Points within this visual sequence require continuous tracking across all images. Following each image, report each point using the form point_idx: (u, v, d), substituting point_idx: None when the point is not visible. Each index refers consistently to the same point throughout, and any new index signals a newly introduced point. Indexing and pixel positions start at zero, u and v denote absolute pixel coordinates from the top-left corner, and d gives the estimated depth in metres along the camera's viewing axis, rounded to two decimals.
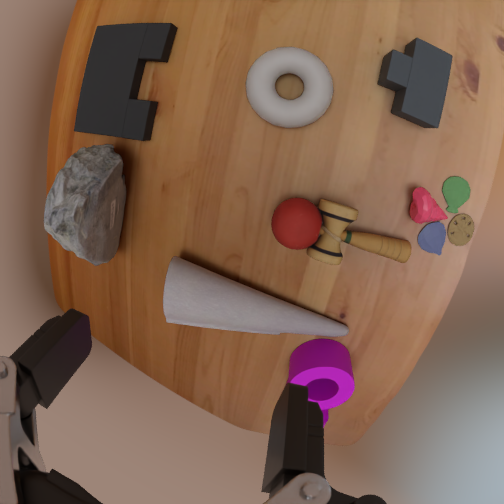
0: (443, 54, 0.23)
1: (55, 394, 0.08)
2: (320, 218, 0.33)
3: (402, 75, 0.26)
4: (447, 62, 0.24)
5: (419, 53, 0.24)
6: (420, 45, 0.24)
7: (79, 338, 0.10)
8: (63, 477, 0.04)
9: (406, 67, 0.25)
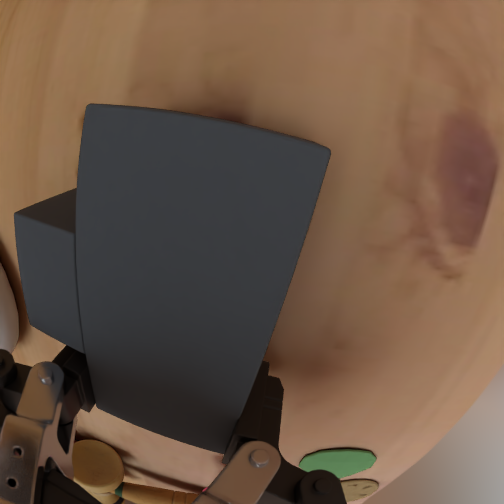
0: (252, 158, 0.05)
1: None
2: None
3: (60, 315, 0.07)
4: (276, 216, 0.05)
5: (97, 200, 0.06)
6: (101, 147, 0.05)
7: None
8: (63, 477, 0.04)
9: (61, 284, 0.07)
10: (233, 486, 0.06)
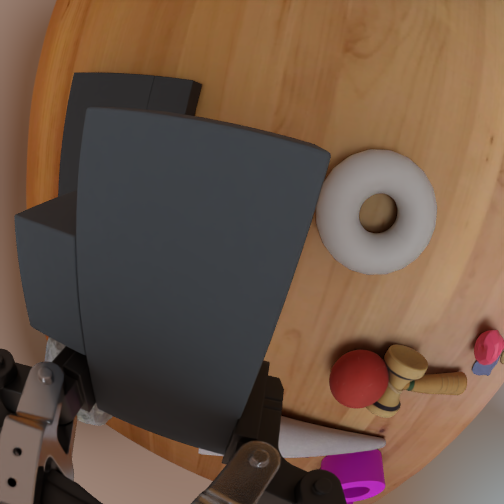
0: (252, 162, 0.05)
1: None
2: (388, 379, 0.25)
3: (60, 317, 0.07)
4: (276, 219, 0.05)
5: (98, 203, 0.06)
6: (101, 151, 0.05)
7: None
8: (63, 477, 0.04)
9: (62, 286, 0.07)
10: (233, 486, 0.06)
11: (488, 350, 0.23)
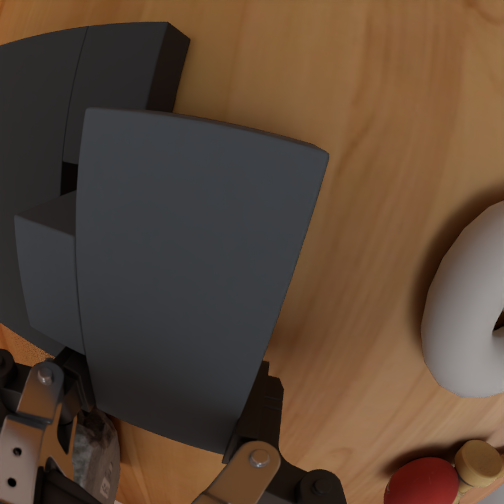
0: (251, 162, 0.05)
1: None
2: (457, 490, 0.12)
3: (60, 317, 0.07)
4: (274, 219, 0.05)
5: (97, 203, 0.06)
6: (100, 151, 0.05)
7: None
8: (63, 477, 0.04)
9: (62, 286, 0.07)
10: (233, 486, 0.06)
11: None
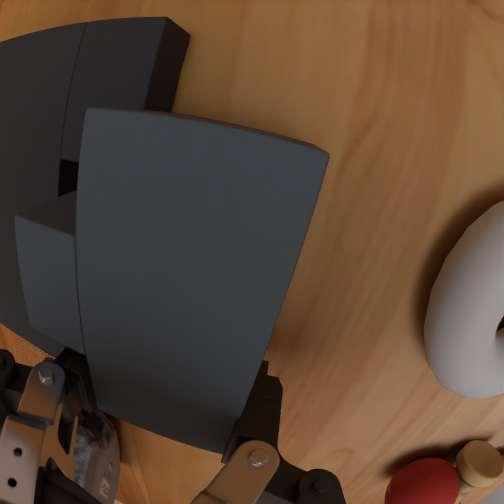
0: (251, 162, 0.05)
1: None
2: (459, 491, 0.12)
3: (60, 317, 0.07)
4: (275, 219, 0.05)
5: (98, 203, 0.06)
6: (100, 151, 0.05)
7: None
8: (63, 477, 0.04)
9: (62, 286, 0.07)
10: (232, 485, 0.06)
11: None
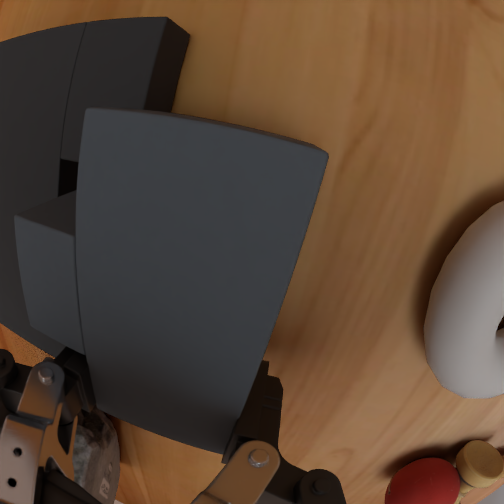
0: (251, 162, 0.05)
1: None
2: (459, 491, 0.12)
3: (60, 317, 0.07)
4: (274, 219, 0.05)
5: (97, 203, 0.06)
6: (100, 151, 0.05)
7: None
8: (63, 477, 0.04)
9: (62, 286, 0.07)
10: (232, 486, 0.06)
11: None
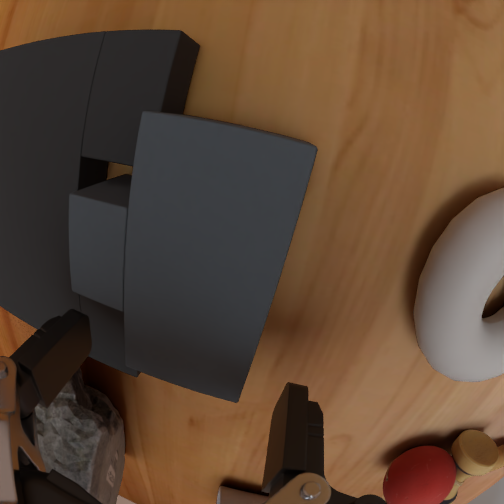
0: (265, 153, 0.08)
1: (55, 394, 0.08)
2: (455, 478, 0.13)
3: (104, 278, 0.10)
4: (281, 191, 0.08)
5: (150, 182, 0.08)
6: (154, 143, 0.08)
7: (79, 338, 0.10)
8: (63, 477, 0.04)
9: (110, 250, 0.09)
10: None
11: None
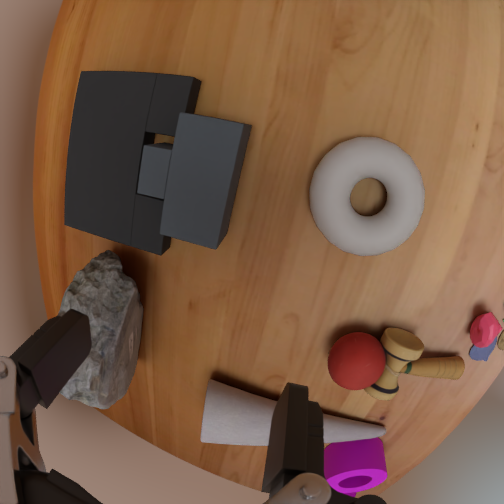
0: (225, 127, 0.20)
1: (55, 394, 0.08)
2: (385, 360, 0.26)
3: (156, 182, 0.23)
4: (231, 140, 0.21)
5: (182, 139, 0.21)
6: (184, 124, 0.21)
7: (79, 338, 0.10)
8: (63, 477, 0.04)
9: (162, 168, 0.22)
10: None
11: (483, 332, 0.24)
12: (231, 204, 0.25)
